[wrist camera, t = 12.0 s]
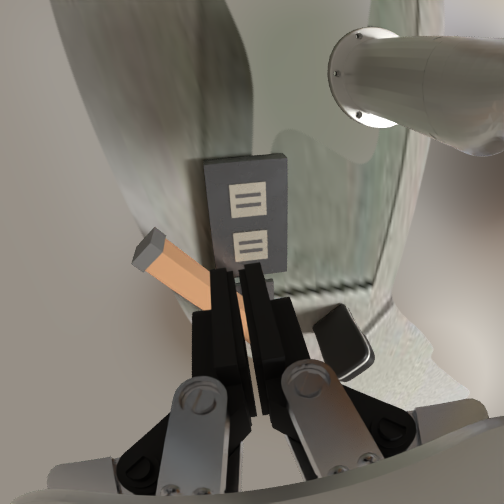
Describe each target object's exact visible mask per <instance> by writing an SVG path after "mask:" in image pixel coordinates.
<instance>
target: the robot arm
mask: <svg viewBox="0 0 504 504" xmlns="http://www.w3.org/2000/svg"><path fill="white" fill-rule="evenodd" d="M355 35H357V38H356V36H355ZM334 71H335V72H336V75H335V76H334V74H333V73H334ZM328 81H329V87H330V90H331V93H332V96H333V97H334V99H335V101H336V103H337V104H338V106H339V107H340V108H341V109H342V111H343V112H344V113H345V114H347V115H348V116H349V117H350V118H351V119H353V120H355V121H356V122H358V123H360V124H363V125H365V126H369V127H373V128H387V127H392V126H394V125H397V124H399V125H402V126H404V127H407V128H409V129H412V130H414V131H417V132H419V133H421V134H424V135H426V136H428V137H431V138H433V139H436V140H438V141H440V142H442V143H444V144H446V145H449V146H451V147H453V148H456V149H458V150H460V151H462V152H465V153H467V154H470V155H474V156H490V155H494V154H497V153H500V152H502V151H504V38H482V37H459V36H412V37H399V36H398V35H397V34H395V33H393V32H391V31H389V30H386V29H383V28H379V27H365V28H360V29H356V30H353V31H351V32H349V33H347V34H346V35H345V36H344V37H342V38H341V39H340V40H339V41H338V43H337V44H336V45H335V47H334V49H333V51H332V53H331V55H330V59H329V63H328ZM356 113H357V115H356ZM238 272H239V278H240V284H241V291H242V297H243V303H244V309H245V315H246V321H247V327H248V333H249V339H250V345H251V351H252V357H253V362H254V369H255V374H256V380H257V385H258V392H259V398H260V403H261V409H262V414H263V415H268V414H269V416H270V421H271V423H272V427H273V428H274V429H276V430H278V431H280V432H281V433H283V434H285V438H286V440H287V443H288V445H289V447H290V450H291V452H292V455H293V457H294V460H295V462H296V465H297V467H298V469H299V472H300V474H301V476H302V479H303V481H304V482H300V483H295V484H290V485H284V486H279V487H273V488H266V489H260V490H253V491H244V492H241V486H242V485H241V484H242V463H243V462H242V461H243V440H244V439H245V438H246V436H247V435H248V434H249V433H250V432H251V426H252V423H251V417H255V416H257V413H256V406H255V400H254V394H253V388H252V381H251V375H250V369H249V363H248V356H247V350H246V343H245V337H244V331H243V325H242V319H241V314H240V308H239V302H238V297H237V291H236V285H235V279H234V273H233V271H228V272H227V270H226V267H225V268H219V269H212V270H210V294H211V309H210V310H203V311H196V312H193V314H192V378H191V379H188V380H186V381H185V382H183V383H182V384H181V385H180V386H179V387H178V388H177V390H176V391H175V394H174V397H173V401H172V406H171V412H170V413H169V414H168V415H167V416H166V417H164V418H163V419H162V420H161V421H160V422H159V423H158V424H157V425H156V426H155V427H154V428H152V429H151V430H150V431H149V432H148V433H147V434H146V435H144V436H143V437H142V438H141V439H140V440H139V441H138V442H136V443H135V444H134V445H133V446H132V447H131V448H130V449H129V450H127V451H126V452H125V453H124V454H123V455H122V456H121V457H120V458H115V459H113V458H112V457H106V458H100V459H94V460H88V461H81V462H74V463H66V464H60V465H57V466H55V467H54V468H53V469H51V471H50V473H49V474H48V479H47V487H48V489H45V490H38V491H33V492H29V493H26V494H24V495H21V496H19V497H18V498H16V499H14V500H13V501H12V502H11V503H10V504H504V416H500V417H494V418H489V416H488V413H487V410H486V408H485V406H484V405H483V404H482V403H481V402H480V401H478V400H475V399H463V400H458V401H453V402H448V403H442V404H436V405H430V406H424V407H417V408H415V409H414V411H404V410H402V409H400V408H398V407H395V406H393V405H390V404H388V403H385V402H383V401H380V400H378V399H375V398H373V397H370V396H368V395H366V394H363V393H361V392H358V391H356V390H354V389H351V388H349V387H347V386H344V385H342V384H341V383H340V381H339V379H338V377H337V376H336V374H335V372H334V371H333V370H332V368H331V367H330V366H329V365H327V364H326V363H324V362H322V361H319V360H315V359H310V356H309V353H308V350H307V347H306V344H305V341H304V338H303V335H302V331H301V328H300V325H299V322H298V320H297V317H296V314H295V311H294V308H293V305H292V302H291V299H290V297H285V298H279V299H273V300H270V297H269V294H268V290H267V286H266V282H265V278H264V275H263V271H262V267H261V263H260V262H257V263H251V264H244V269H241V270H238Z"/></svg>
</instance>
